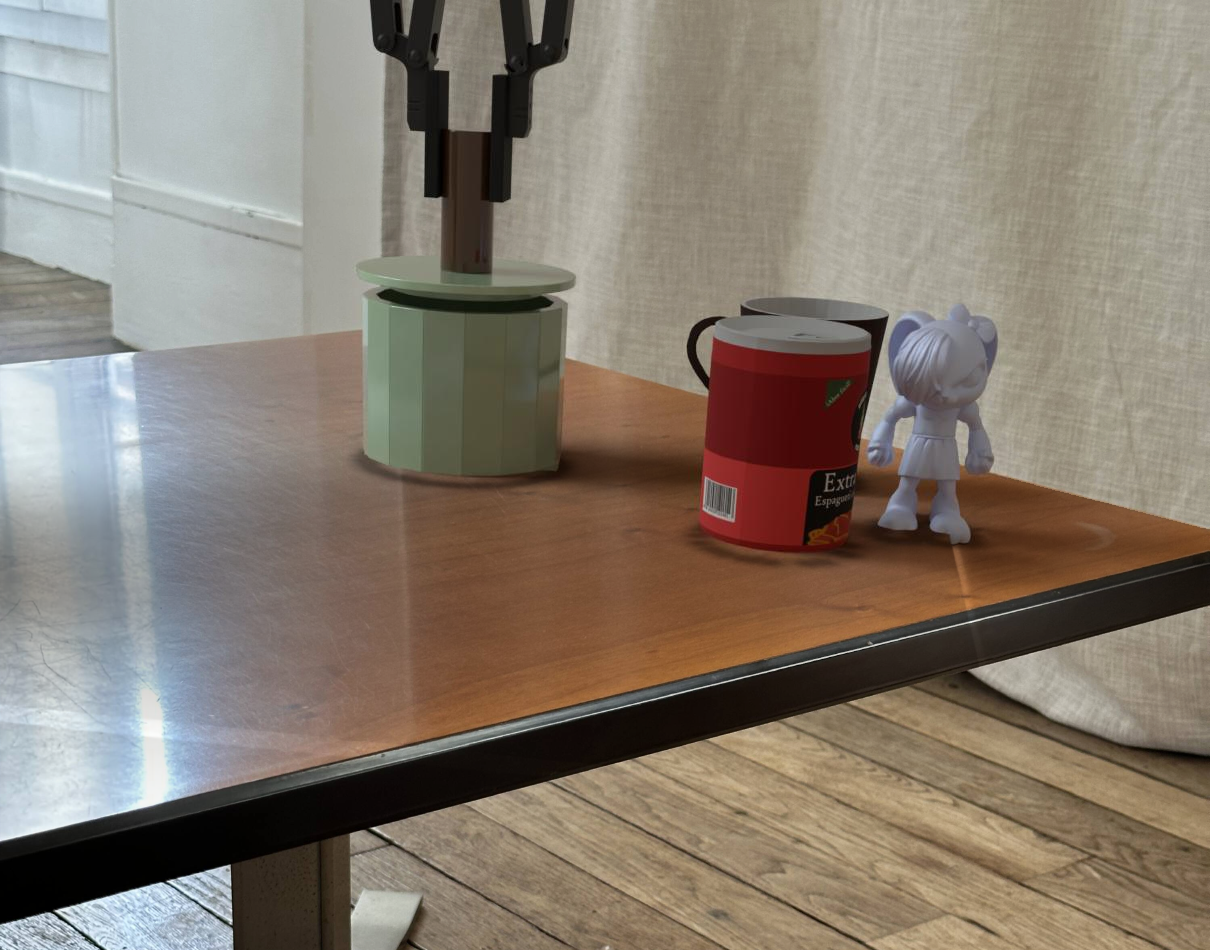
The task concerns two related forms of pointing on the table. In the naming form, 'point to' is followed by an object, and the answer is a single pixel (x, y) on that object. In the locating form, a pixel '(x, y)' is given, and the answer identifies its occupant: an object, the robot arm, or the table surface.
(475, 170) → the lid
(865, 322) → the coffee mug
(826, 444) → the canned food
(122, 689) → the table surface
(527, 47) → the robot arm
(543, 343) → the canister
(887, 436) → the toy figurine
